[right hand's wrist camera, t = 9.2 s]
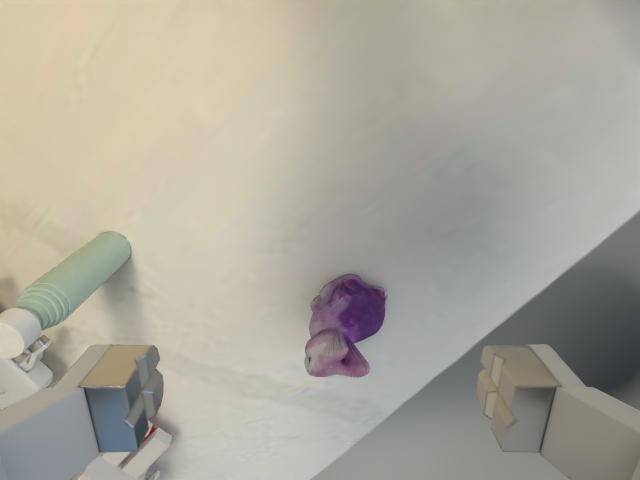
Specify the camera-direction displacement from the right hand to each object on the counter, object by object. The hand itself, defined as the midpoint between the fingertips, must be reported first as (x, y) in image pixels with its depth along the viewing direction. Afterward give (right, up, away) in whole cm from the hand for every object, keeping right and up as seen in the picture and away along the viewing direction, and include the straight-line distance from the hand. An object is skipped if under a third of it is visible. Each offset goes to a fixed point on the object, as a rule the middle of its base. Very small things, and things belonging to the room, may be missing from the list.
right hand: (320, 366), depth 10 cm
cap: (-27, -5, +26) cm, 38 cm away
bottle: (-28, +2, +45) cm, 52 cm away
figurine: (+3, -6, +48) cm, 48 cm away
